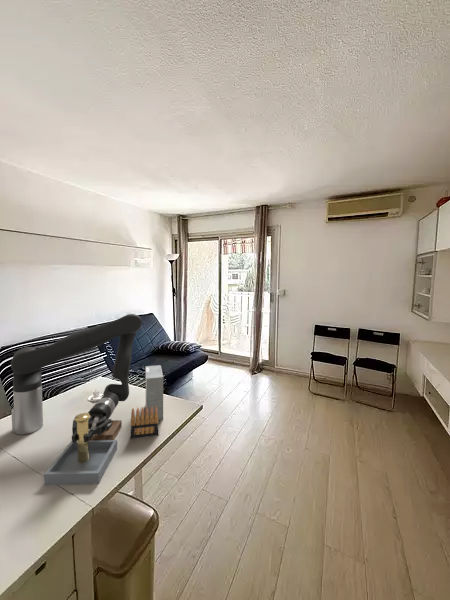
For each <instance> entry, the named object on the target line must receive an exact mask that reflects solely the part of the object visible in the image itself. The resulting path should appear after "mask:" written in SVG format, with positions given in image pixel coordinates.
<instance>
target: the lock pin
mask: <svg viewBox="0 0 450 600" xmlns="http://www.w3.org/2000/svg"><path fill="white" fill-rule="evenodd" d="M89 418H90V414H89V413H88V412H82V413H79V414H77V415H75V417H74V420H75V421H76V422H77V441H78V462H79V463H84V462H86V461H88V460H89V441H88V442H84V436H85V435H86V433H88V431H89V430H88V419H89Z"/></svg>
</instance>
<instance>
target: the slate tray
mask: <svg viewBox="0 0 450 600" xmlns="http://www.w3.org/2000/svg"><path fill="white" fill-rule="evenodd" d="M117 450H118V440H117V439H114V440H89V460H88V461H86V462H84V463H79V462H78V440H77V441H76V442H75V443H73V442H72V440H70V442H69V444H68V445H67V446H66V447H65V448H64V450H63V451H62V452H61V453H60V454H59V455H58V457H56V459H55V460H54V462H53V463H52V464H51V465H50V466H49V467H48V469H47V470H46V471H45V472H44V473H43V485H44V486H66V485H69V486H70V485H99V484H100V483H101V480H102V479H103V477H104V475H105V473H106V471H107V469H108V467H109V466H110V463H111V462H112V460H113V458H114V456H115V454H116V452H117Z"/></svg>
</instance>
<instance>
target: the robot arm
mask: <svg viewBox="0 0 450 600" xmlns="http://www.w3.org/2000/svg"><path fill="white" fill-rule="evenodd" d="M142 325H143V321H142V318H141V317H140V315H138V314H135V313H128V314H126V315H124V316H122V317H119V318H117V319H115V320H112V321H110V322H105V323H103V324H99V325H96V326H91V327H88V328H85V329H81V330H78V331H76V332H73V333H71V334H69V335H66V336H64V337H62V338H61V339H58V340H57V341H56V342H54V343H51V344H48V345H47V346H43V347H40V348H35V347H33V346H27V347H26V346H25V347H22V348H20V349H18V350H17V351H16V352H15V353H14V354H13V357H12V358H11V362H10V367H11V370H12V373H13V374H12V375H13V379H12V381H13V382H12V392H13V394H12V395H13V407H12V408H11V411H10V413H11V429H12V433H15V434H17V435H26V434H31V433H35V432H36V431H39V430H40V429H41V428H42V427H43V426H44V413H43V411H44V410H43V385H42V384H43V383H42V380H43V378H42V368H45V367H47V366H48V365H49V366H50V364H53V363H56V362H58V361H61V360H64V359H67V358H70V357H73V356H75V355H78V354H81V353H85V352H87V351H90V350H92V349H94V348H97V347H100V346H101V345H103V344H105V343H107V342H109V341H110V340H112V339H115V338H118V337H119V341H118V347H117V353H116V355H115V359H114V364H113V369H112V374H111V376H112V378H114V379H116V380H119V381H120V382H121V384H119V383H118V384H117V383H110V384H107V385H106V386H105V388H104V390H103V393H102V394H103V396H101V397H100V398H101V399H100V400H99V401H96V403H95V404H93V406H92V407H91V408H90V409H89V411H88V412H87V413H89V414H90V418H89V419H88V433H86V435H85V436H84V442H88V441H89V440H90V439H91V438H92V436H94V435H95V434H97V435H100V434H101V433H103V432H104V431H106V430H107V429H108V428H110V427H111V426H112V419H111V418H110V417H112V415H113V413H114V411H115V409H116V408H117V406H118V405H119V402H125V401H126V400H128V398H129V395H130V385H129V374H130V370H131V362H132V352H133V351H132V350H133V343H134V339H135V337H136V334H137V332H138V331H140V329H141V328H142ZM71 428H72V431H71V432H72V433H71V434H72V435H71V441H72V442H73V443H75V442H76V441H78V440H77V422H76V421H75V419H73V420H72V427H71ZM101 428H102V430H101ZM90 429H91V430H90Z"/></svg>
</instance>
